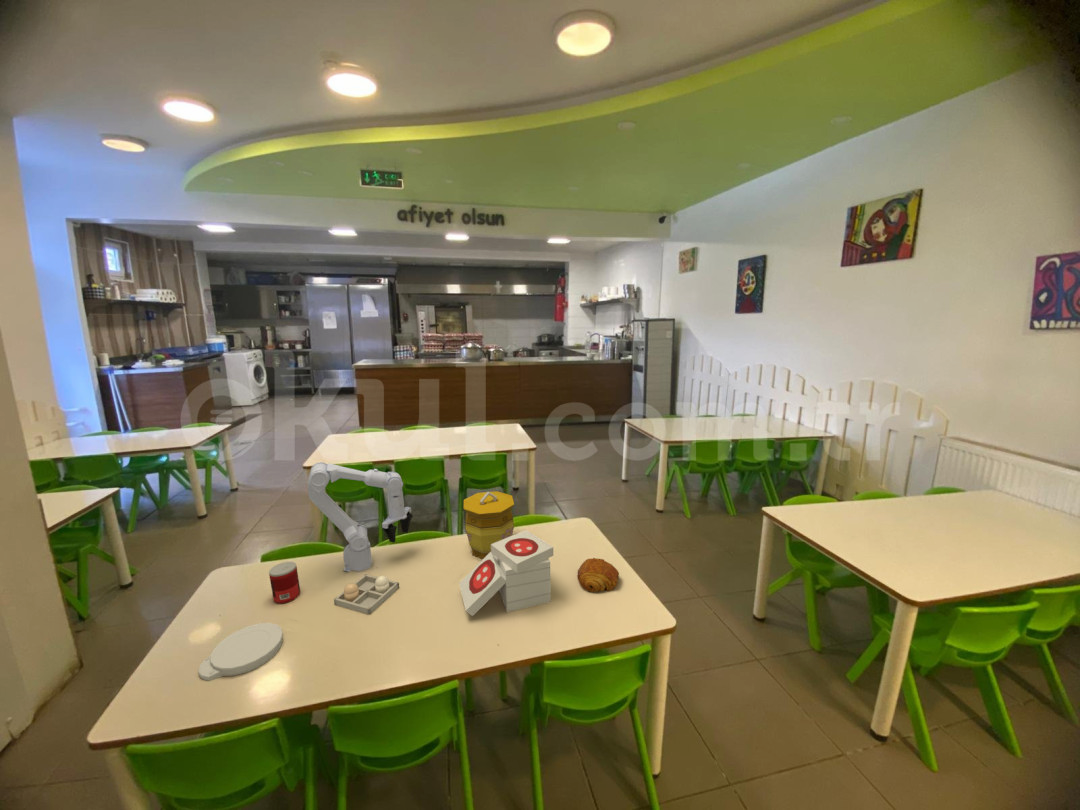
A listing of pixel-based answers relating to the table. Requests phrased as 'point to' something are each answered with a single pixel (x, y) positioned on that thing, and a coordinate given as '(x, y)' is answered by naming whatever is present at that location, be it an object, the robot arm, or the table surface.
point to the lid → (242, 651)
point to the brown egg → (351, 592)
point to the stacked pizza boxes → (511, 574)
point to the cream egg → (382, 584)
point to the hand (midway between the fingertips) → (399, 536)
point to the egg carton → (367, 595)
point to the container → (488, 520)
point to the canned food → (284, 582)
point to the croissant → (597, 575)
